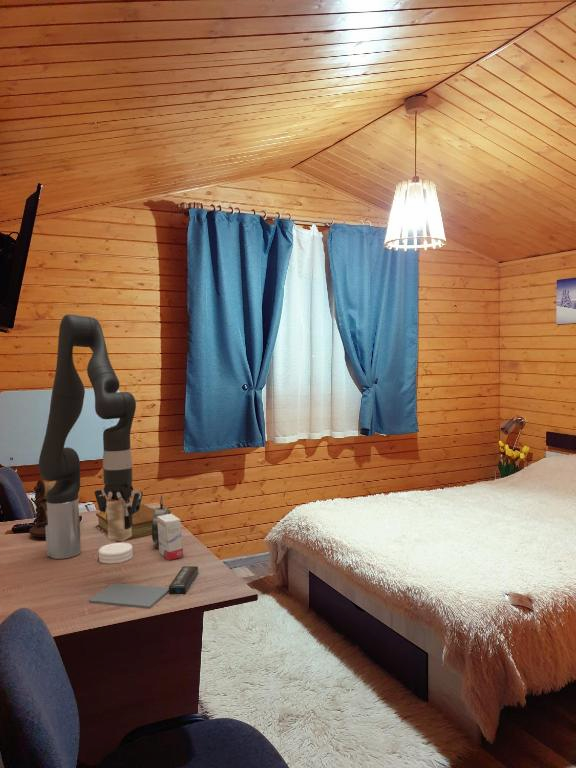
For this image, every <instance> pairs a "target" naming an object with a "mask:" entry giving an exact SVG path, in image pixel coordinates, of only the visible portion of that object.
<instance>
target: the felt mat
mask: <svg viewBox="0 0 576 768" xmlns="http://www.w3.org/2000/svg"><path fill="white" fill-rule="evenodd" d="M167 594H169V587H163V586H154V585H153V586H152V585H138V584H129V583H118V582H113V583H112V584H110V585H109V586H107V587H106V588H105V589H103V590H102V591H100V592H98V593H97V594H96V595H94V596H93V597H92V598H90V599H89V600H88V603H93V604H103V605H112V606H124V607H134V608H141V609H142V608H143V609H150V608H152V607H153V606H154V605H156V604H157V603H158V602H159V601H160V600H161V599H162V598H164V597H165V596H166V595H167Z"/></svg>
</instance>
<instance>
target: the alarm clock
mask: <svg viewBox="0 0 576 768" xmlns="http://www.w3.org/2000/svg"><path fill="white" fill-rule="evenodd" d="M159 502H160V503H159V506H160V507H155V509H154V514H153V519H152V535H151V538H152V542H153V543H154V544H155V543H156V550H159V538H158V522H157V516H161V515H167V514H172V512H171V509H169V508H168V507H163V505H164V503H163V495H162V494H161V495H160V497H159Z"/></svg>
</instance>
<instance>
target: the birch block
mask: <svg viewBox="0 0 576 768" xmlns="http://www.w3.org/2000/svg"><path fill="white" fill-rule="evenodd" d="M107 499H108V498H107ZM107 499H106V501H107V522H108V535H107V540H108V541H115V542H117V541H123V542H125V541H124V540H126V539H127V538H129V537H131V536H132V527H131V528H129V529H125V522H124V516H125V514H124V508H123V500H119V499H112V500H110V499H108V500H107ZM130 499H131V500H132V496H130ZM128 501H129V500H128ZM128 501H127V502H125V504H127V503H128Z"/></svg>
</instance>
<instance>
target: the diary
mask: <svg viewBox="0 0 576 768" xmlns="http://www.w3.org/2000/svg"><path fill="white" fill-rule="evenodd" d="M154 510H155V509H154V508H153V507H149V506H148V505H146V504H144V503H141V504H140V508H139V511H138V512H136V513H134V514H132V522H133V524H132V526H131V527H132V536H131V537H129V538H127V539H126V540H124V541H116V543H118V542H119V543H124V542H127V541H131V540H136V539H141V538H144V537H149V536H152V519H153V514H154ZM95 515H96V517H97V518H98V519H97V520H98V525H96V528H98V527H99V528H100V529H101V530H100V529H99V528H98V529H99V530H100V531H102V530H103V531H104V532H105V533H104V532H103V531H102V532H103V533H104V534H106V535H107V534H108V525H107V518H106V513H105V512H101V511H98V512H96V513H95Z"/></svg>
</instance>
